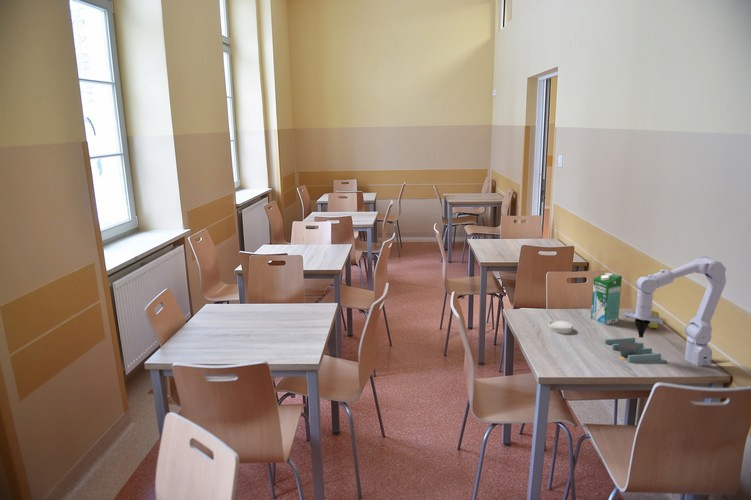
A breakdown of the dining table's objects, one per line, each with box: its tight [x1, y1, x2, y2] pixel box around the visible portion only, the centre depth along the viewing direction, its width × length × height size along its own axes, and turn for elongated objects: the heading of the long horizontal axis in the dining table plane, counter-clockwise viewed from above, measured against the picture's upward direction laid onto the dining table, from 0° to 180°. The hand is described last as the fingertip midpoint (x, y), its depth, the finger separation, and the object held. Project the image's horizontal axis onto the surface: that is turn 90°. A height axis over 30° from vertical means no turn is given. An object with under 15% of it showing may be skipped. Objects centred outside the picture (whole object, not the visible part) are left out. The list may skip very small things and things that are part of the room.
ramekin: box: [547, 320, 574, 334], centre depth 249 cm, size 11×11×5 cm
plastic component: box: [647, 310, 660, 329], centre depth 262 cm, size 20×7×10 cm, turn 168°
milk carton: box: [590, 272, 623, 325], centre depth 261 cm, size 9×9×25 cm
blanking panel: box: [617, 340, 640, 354], centre depth 223 cm, size 2×8×7 cm
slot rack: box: [604, 337, 667, 364], centre depth 226 cm, size 21×18×3 cm
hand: (641, 336), depth 219 cm, fingers closed
